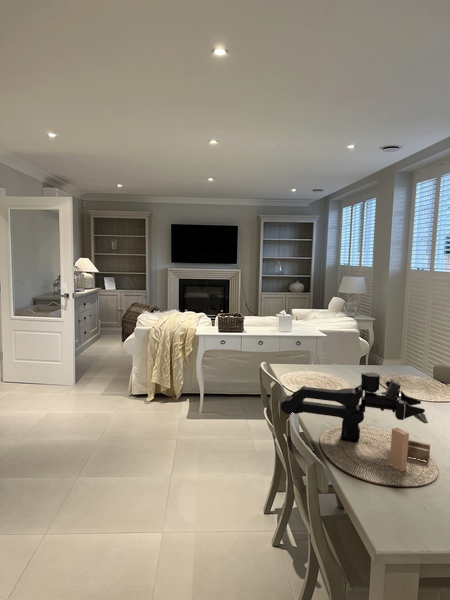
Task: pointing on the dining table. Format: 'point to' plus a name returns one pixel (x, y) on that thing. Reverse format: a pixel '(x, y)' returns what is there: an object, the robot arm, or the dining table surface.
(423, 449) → the tan u-shaped channel
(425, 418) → the ceramic fragment
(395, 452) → the clay block
